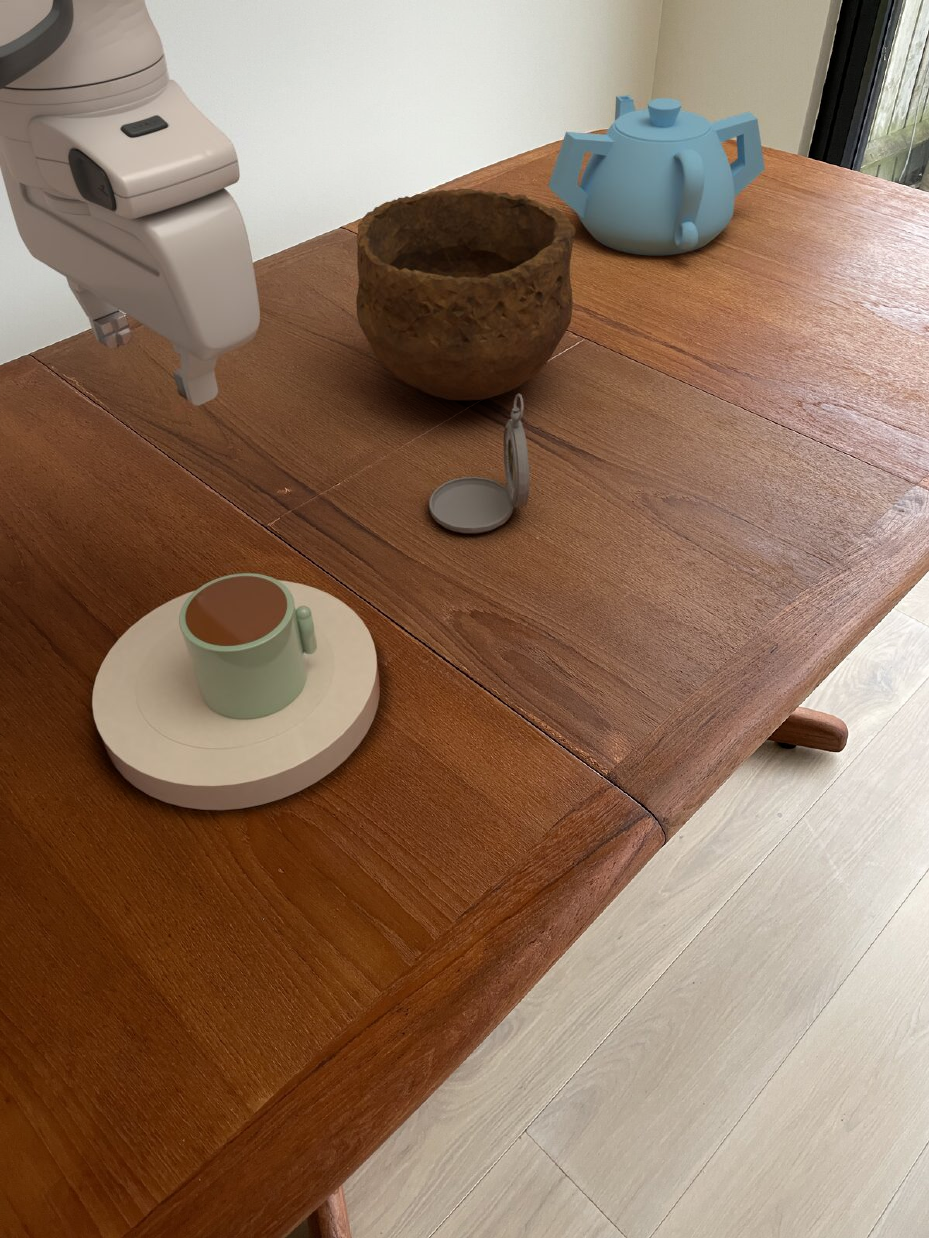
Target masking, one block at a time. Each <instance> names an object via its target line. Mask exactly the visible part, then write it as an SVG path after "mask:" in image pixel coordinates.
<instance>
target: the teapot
mask: <svg viewBox="0 0 929 1238" xmlns="http://www.w3.org/2000/svg"><path fill="white" fill-rule="evenodd" d="M682 105H683V104H682V102H681V101H679V100H677V99H675V98H672V97H671V98H670V97H657V98H654V99H652V100H649V101H648V102H647V108H645V109H639V110H636V107H635V103H634V98H633V97H632V96H631V95H630V94H625V95H624V94H623V95H616V96H615V111H614V121H613V123H612V124H611V125H610V126H609V127H608V129H607V130H606V131H605V133H604V134H600V133H589V132H574V131H565V134H564V137H563V140H562V143H561V146H560V149H559V152H558V155H557V158H556V161H555V164H554V167H553V170H552V173H551V177H550V180H549V183H548V185H547V187H548V189H550V190H551V191H552V193H553V194H555V195H556V196H557V197H558V198H559V199H560V200H561V201H562V202H563V203H565V204H566V205H567V206H568V207H569V208H570V209H571V210H573V211H574V213H576V214H577V217H578V219H579V220H580V222H581V224H582V225H583V227H584V228H585V229H586V230H587V232H588V233H589V234H590V235H591V236H592V237H593V238H594V240H596V241H597V242H598V243H599V244H602V245H603V246H604V247H608V248H609V249H612V250H616V251H618V252H621V253H622V252H623V253H627V254H632V255H640V256H656V257H657V256H658V257H659V256H674V255H680V254H685V253H691V252H693V251H696V250H698V249H701V248H703V247H705V246H706V245H708V244H709V243H710V242H711V241H713V240H715V238H716V237H718V235H720V234H721V233H722V232H723V231H724V230H725V229H726V228H727V227H728V226H729V224H730V222H731V220H732V218H733V216H734V212H735V211H734V210H735V202H736V201H735V199H736V197H737V196H738V195H739V194H740V193H742V191H744V190H745V189H746V188H747V187H748V186H749V185H750V184H751V183H752V182H753V181H754V180H755V179H757V178H758V177H759V176H760V175H761V174H762V173H763V172H764V171H765V170H766V168H765V161H764V154H763V153H764V152H763V147H762V140H761V132H760V127H759V121H758V120H759V119H758V118H757V117H756V116H755V115H754V114H753V113H752V112H751V111H747V112H746V111H745V112H742V113H740V114H736V115H733V116H729V117H725V118H722V119H718V120H714V121H711V122H710V121H709V120H708V119H707V118H706V117H704V116H702V115H700V114H698V113H695V112H692V111H688V110H684V109H683V110H682ZM734 138H736V153H737V158H736V159H735V160H733V161H732V162H731V163H730V162H729V159H728V155H727V154H726V151H725V149H724V147H723V144H722V143H724V142H727V141H729V140H732V139H734ZM586 153H589V154H590V157H589V158H588V160H587V162H586V164H585V167H584V169H583V172H582V175H581V178H580V174H581V169H582V165H583V162H584V158H585V154H586ZM579 179H580V181H579ZM578 181H579V184H578Z"/></svg>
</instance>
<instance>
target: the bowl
mask: <svg viewBox="0 0 929 1238" xmlns="http://www.w3.org/2000/svg"><path fill="white" fill-rule="evenodd" d="M373 208H374V209H373V210H372V211H368V212H367V213H366V214H365V215H364V216H363V217H362V219H361V220H359V222H358V224H357V234H356V244H357V259H356V265H357V266H356V267H357V275H358V288H357V293H356V317H357V320H358V325H359V327H360V329H361V331H362V332H363V335H364V336H365V338H366V340H367V342H368V344H369V345H370V348H371V349H372V350H373V352H374V354H375V355H376V357H377V359H378V360H379V362H380V363H381V365H383V367H384V368H385V369H386V370H388V371H389V372H390V373H392V374H393V375H394V376H396V377H397V378H398V379H400V380H401V381H403V382H404V383H406V384H407V385H409V386H411V387H412V388H414V389H417V390H420V391H422V392H424V393H427V394H429V395H431V396H433V397H436V398H440V399H444V400H448V401H479V400H485V399H490V398H493V397H494V398H495V397H497V396H499V395H502V394H505V393H508V392H510V391H513V390H514V389H516V388H519V387H520V386H521V385H523V384H524V383H526V382H527V381H528V380H530V379H532V377H534V376H535V375H536V374H537V373H538V372H540V371H541V370H542V369H543V368H544V367H545V365H547V363H549V360H550V359H551V357H552V356H553V354H554V352H555V351H556V349H557V347H558V345H559V343H560V342H561V340H562V339H563V337H564V336H565V333H566V332H567V330H568V328H569V326H570V324H571V321H572V317H573V316H572V315H573V304H574V303H573V289H572V284H571V259H572V253H573V245H574V244H573V243H574V237H575V236H576V234H577V230H576V227H575V225H574V224H572V223H571V220H570V218H569V217H566V215H564V214H563V213H562V211H561V210H558V209H557V208H556V207H548V206H546V205H545V204H543V203H540V201H538V200H536V199H531V198H528V197H527V196H526V194H521V193H519V194H515V195H511V194H509V193H508V192H498V193H497V192H494V191H491V190H490V191H484V190H482V189H477V190H475V189H471V188H458V189H450V190H444V189H441V190H436V191H434V190H433V191H432V190H431V191H429V192H427V193H416V194H414V195H412V196H409V195H406V196H404V197H398V198H397V199H392V200H391V201H386V202H383V203H381V204H380V205H378V206H375V207H373Z"/></svg>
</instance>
